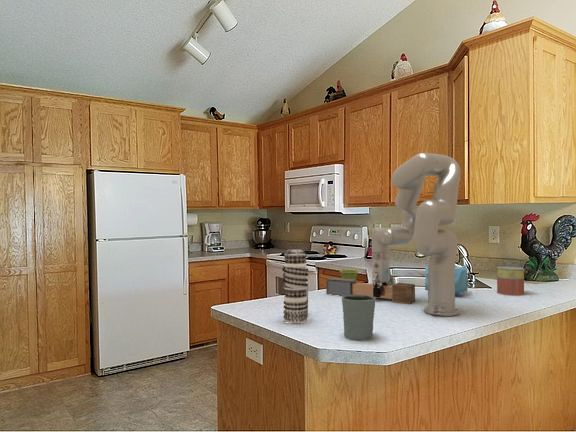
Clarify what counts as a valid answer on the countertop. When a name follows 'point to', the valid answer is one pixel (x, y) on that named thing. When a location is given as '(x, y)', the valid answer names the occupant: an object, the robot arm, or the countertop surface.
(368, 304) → the grey green cup
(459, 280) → the teakettle
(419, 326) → the countertop surface
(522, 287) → the canned food
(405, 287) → the walnut socket
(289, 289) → the decorative candle
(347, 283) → the grey rectangular block
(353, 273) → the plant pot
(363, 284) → the light brown wooden bar
